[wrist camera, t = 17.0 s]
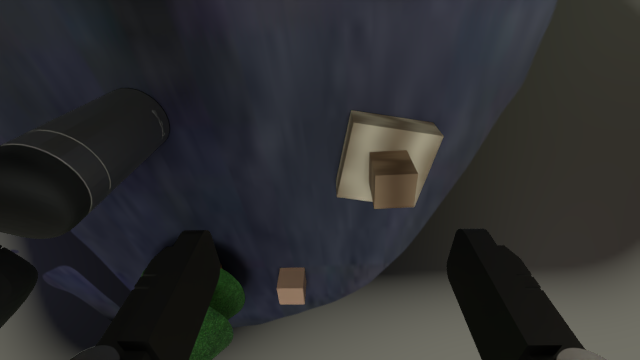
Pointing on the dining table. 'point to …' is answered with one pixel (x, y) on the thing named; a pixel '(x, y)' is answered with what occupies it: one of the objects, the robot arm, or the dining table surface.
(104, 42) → the dining table surface
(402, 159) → the walnut block
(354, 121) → the birch block
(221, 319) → the decorative tree
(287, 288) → the tan cube
